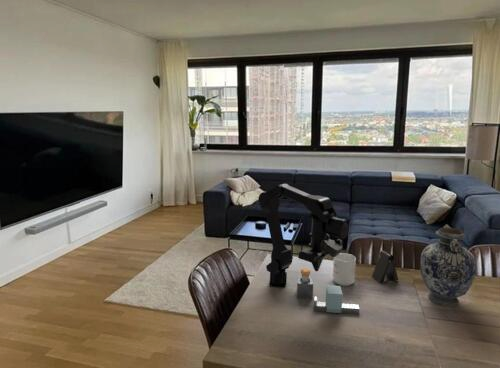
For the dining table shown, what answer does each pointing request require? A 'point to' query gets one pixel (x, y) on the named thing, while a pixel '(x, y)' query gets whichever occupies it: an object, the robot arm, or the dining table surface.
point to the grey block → (334, 298)
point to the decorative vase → (447, 267)
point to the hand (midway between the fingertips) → (316, 270)
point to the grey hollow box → (304, 288)
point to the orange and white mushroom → (305, 275)
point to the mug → (344, 269)
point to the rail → (345, 309)
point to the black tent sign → (385, 268)
